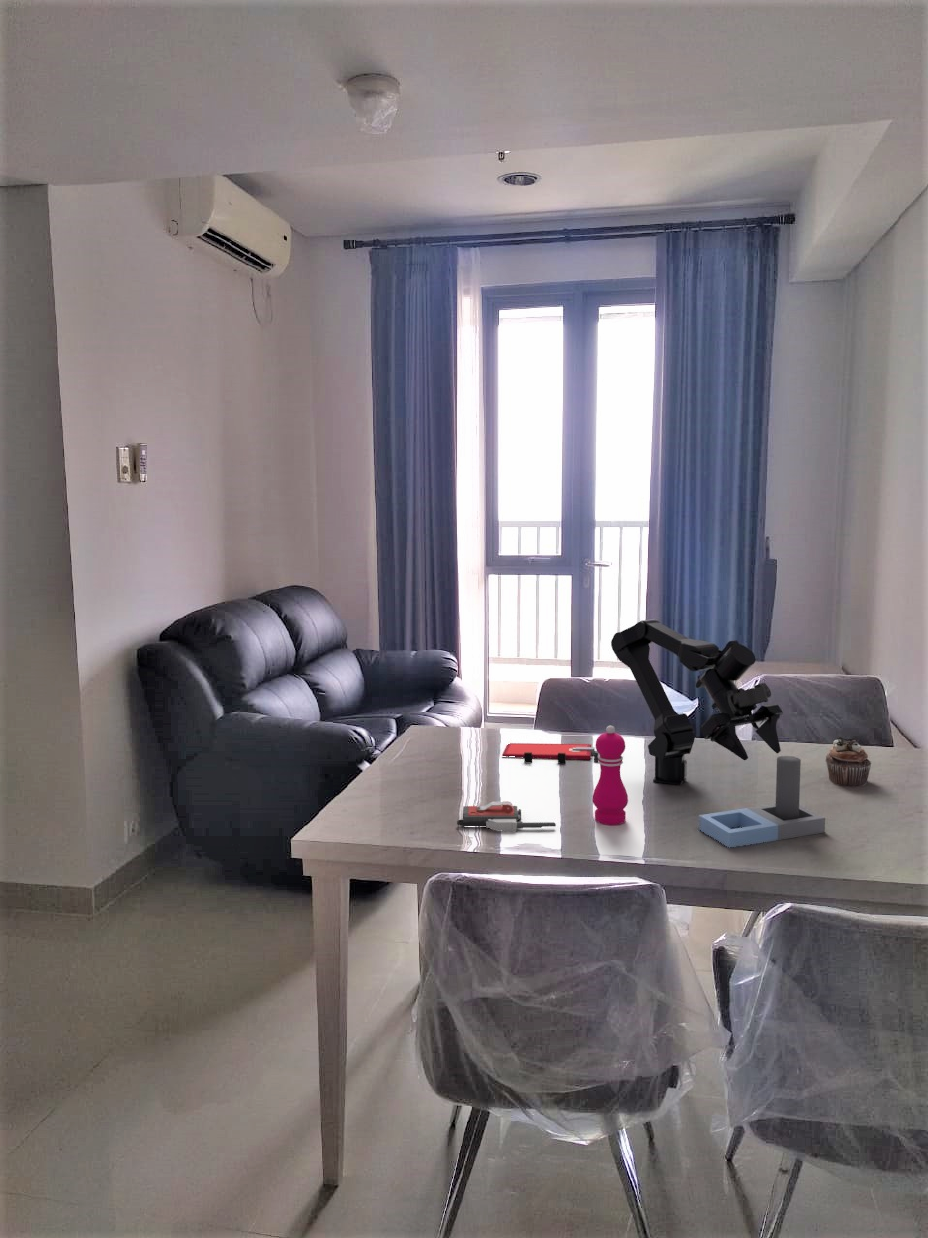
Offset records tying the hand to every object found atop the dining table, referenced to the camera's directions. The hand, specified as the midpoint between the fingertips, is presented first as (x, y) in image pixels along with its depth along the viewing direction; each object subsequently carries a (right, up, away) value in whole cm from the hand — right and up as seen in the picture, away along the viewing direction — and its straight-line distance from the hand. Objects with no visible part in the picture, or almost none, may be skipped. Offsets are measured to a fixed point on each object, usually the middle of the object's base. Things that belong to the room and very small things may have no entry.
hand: (762, 755), depth 178 cm
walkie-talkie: (-53, -15, +1) cm, 55 cm away
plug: (+3, -14, -4) cm, 15 cm away
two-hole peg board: (-2, -14, -6) cm, 15 cm away
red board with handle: (-36, -8, +48) cm, 60 cm away
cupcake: (+27, -10, +23) cm, 37 cm away
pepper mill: (-31, -14, +2) cm, 34 cm away
